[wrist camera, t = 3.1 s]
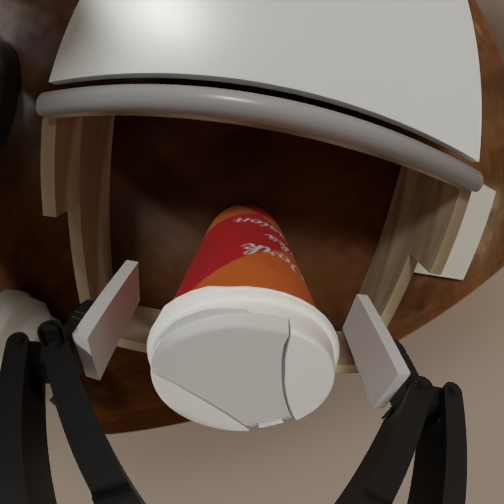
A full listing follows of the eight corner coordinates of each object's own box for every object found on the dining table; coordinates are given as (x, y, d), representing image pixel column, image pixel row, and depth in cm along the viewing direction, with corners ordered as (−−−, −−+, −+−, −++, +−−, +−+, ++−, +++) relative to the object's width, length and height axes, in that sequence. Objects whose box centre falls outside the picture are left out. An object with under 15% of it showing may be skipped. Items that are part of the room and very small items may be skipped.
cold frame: (107, 307, 26) (76, 360, 19) (104, 101, 18) (44, 99, 10) (347, 339, 29) (368, 395, 22) (415, 155, 20) (475, 176, 13)
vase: (-5, 268, 24) (-64, 327, 12) (70, 291, 26) (7, 378, 14) (21, 343, 30) (-17, 403, 18) (91, 369, 32) (58, 446, 20)
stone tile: (391, 266, 25) (394, 269, 24) (426, 157, 20) (430, 158, 20) (460, 277, 26) (462, 279, 25) (492, 190, 21) (495, 191, 20)
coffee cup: (306, 260, 24) (359, 408, 11) (222, 292, 26) (205, 444, 12) (271, 171, 21) (315, 269, 7) (177, 213, 22) (94, 345, 9)
